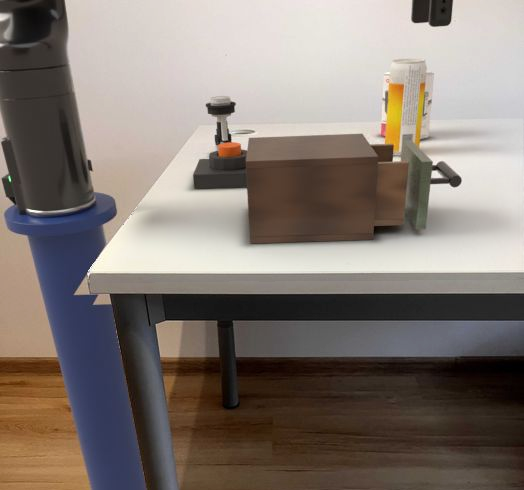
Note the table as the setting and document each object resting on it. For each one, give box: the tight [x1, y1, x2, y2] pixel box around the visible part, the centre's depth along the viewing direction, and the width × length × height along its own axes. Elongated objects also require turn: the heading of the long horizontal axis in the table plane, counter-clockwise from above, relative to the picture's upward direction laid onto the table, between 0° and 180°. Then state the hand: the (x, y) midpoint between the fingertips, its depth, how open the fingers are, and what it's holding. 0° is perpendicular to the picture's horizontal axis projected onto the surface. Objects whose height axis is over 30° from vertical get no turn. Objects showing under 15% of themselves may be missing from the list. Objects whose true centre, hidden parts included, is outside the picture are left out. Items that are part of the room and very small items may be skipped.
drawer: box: [369, 140, 463, 230], centre depth 73 cm, size 18×11×8 cm, turn 90°
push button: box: [205, 95, 237, 152], centre depth 107 cm, size 7×5×10 cm
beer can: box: [384, 58, 428, 157], centre depth 103 cm, size 6×6×15 cm
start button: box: [218, 141, 242, 157], centre depth 93 cm, size 4×4×2 cm
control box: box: [192, 148, 247, 190], centre depth 94 cm, size 11×10×4 cm
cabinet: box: [246, 133, 378, 245], centre depth 73 cm, size 15×13×10 cm
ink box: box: [380, 70, 435, 140], centre depth 115 cm, size 9×5×12 cm, turn 42°
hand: (429, 24), depth 66 cm, fingers open, 8 cm apart
